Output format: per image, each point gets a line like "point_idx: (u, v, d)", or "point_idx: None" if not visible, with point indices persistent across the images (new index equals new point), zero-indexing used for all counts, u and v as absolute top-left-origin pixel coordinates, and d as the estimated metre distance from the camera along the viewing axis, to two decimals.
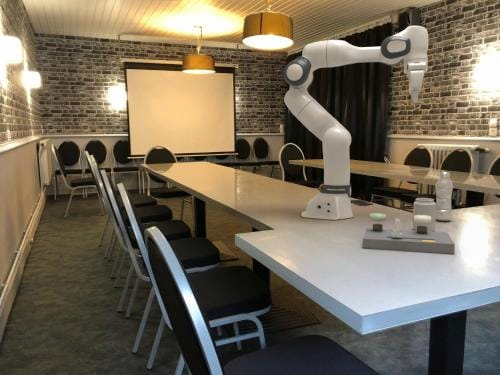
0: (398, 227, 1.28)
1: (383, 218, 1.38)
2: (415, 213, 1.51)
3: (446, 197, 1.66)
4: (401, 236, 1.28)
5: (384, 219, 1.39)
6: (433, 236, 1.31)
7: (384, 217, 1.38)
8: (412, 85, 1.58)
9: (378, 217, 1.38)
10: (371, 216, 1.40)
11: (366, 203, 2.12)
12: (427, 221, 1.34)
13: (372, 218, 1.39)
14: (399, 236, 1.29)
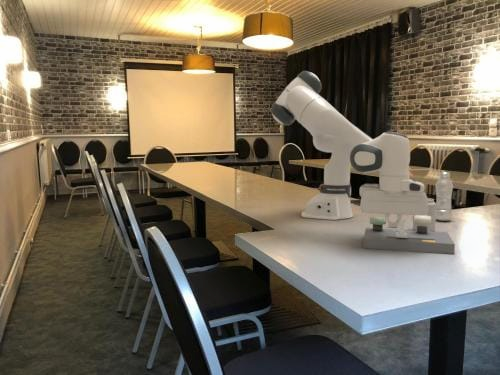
0: (403, 227, 1.28)
1: (383, 222, 1.38)
2: None
3: (446, 197, 1.66)
4: (406, 236, 1.28)
5: (384, 223, 1.39)
6: (433, 236, 1.31)
7: (384, 221, 1.39)
8: None
9: (378, 221, 1.38)
10: (371, 219, 1.40)
11: None
12: (427, 221, 1.34)
13: (372, 222, 1.39)
14: (404, 236, 1.28)
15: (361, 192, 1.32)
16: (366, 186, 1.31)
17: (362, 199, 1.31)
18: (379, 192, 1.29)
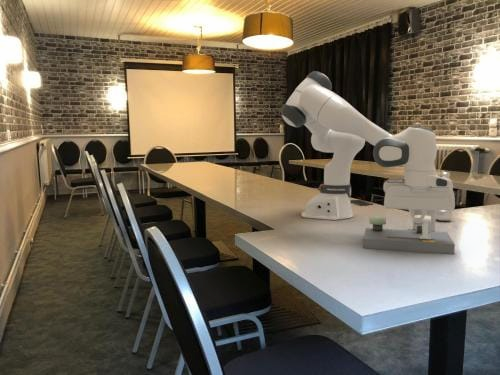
0: (426, 228, 1.26)
1: (383, 222, 1.38)
2: (415, 213, 1.51)
3: None
4: (429, 238, 1.26)
5: (384, 223, 1.39)
6: (433, 236, 1.31)
7: (384, 221, 1.39)
8: None
9: (378, 221, 1.38)
10: (371, 219, 1.40)
11: (366, 203, 2.12)
12: None
13: (372, 222, 1.39)
14: (427, 238, 1.26)
15: (385, 187, 1.30)
16: (390, 181, 1.29)
17: (386, 195, 1.29)
18: (404, 187, 1.27)
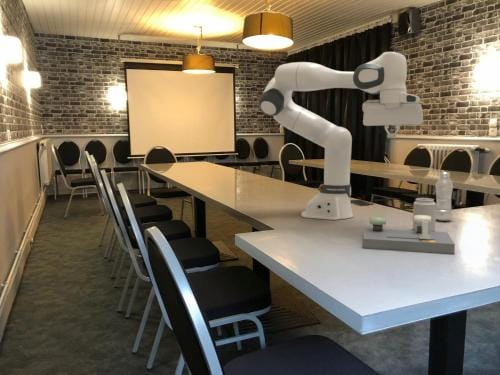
0: (426, 228, 1.26)
1: (383, 222, 1.38)
2: (415, 213, 1.51)
3: (446, 197, 1.66)
4: (429, 238, 1.26)
5: (384, 223, 1.39)
6: (433, 236, 1.31)
7: (384, 221, 1.39)
8: (422, 120, 1.43)
9: (378, 221, 1.38)
10: (371, 219, 1.40)
11: (366, 203, 2.12)
12: None
13: (372, 222, 1.39)
14: (427, 238, 1.26)
15: (364, 108, 1.50)
16: (368, 102, 1.49)
17: (365, 113, 1.48)
18: (379, 106, 1.47)
